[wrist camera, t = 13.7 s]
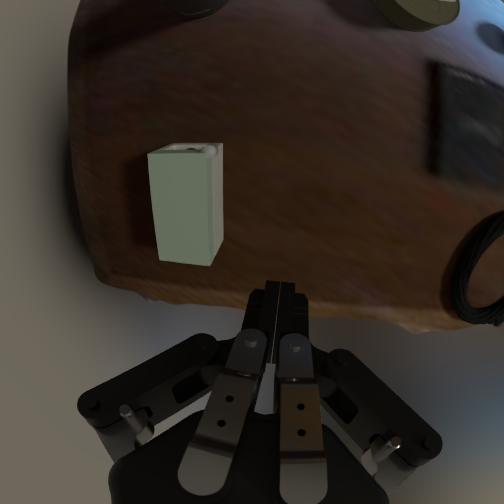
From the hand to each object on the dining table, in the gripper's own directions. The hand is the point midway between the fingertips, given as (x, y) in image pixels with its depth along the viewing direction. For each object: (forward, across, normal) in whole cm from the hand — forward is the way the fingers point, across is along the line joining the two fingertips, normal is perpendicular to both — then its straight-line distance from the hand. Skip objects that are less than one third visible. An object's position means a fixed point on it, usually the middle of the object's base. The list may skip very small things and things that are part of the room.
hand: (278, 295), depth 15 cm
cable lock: (+30, -48, +14) cm, 58 cm away
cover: (+23, +14, +5) cm, 27 cm away
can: (+29, -16, -30) cm, 45 cm away
